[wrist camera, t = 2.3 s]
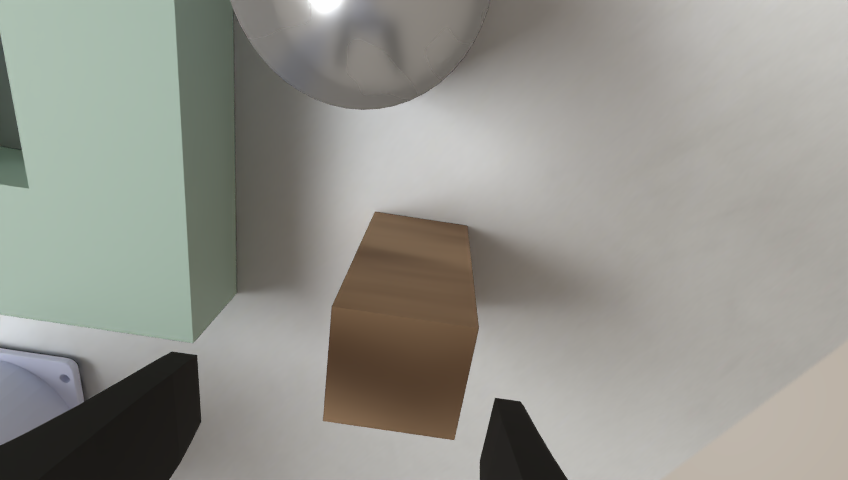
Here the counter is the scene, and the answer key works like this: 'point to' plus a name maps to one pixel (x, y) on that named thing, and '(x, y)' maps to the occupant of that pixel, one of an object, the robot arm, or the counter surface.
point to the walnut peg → (403, 329)
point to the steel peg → (361, 45)
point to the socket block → (119, 165)
